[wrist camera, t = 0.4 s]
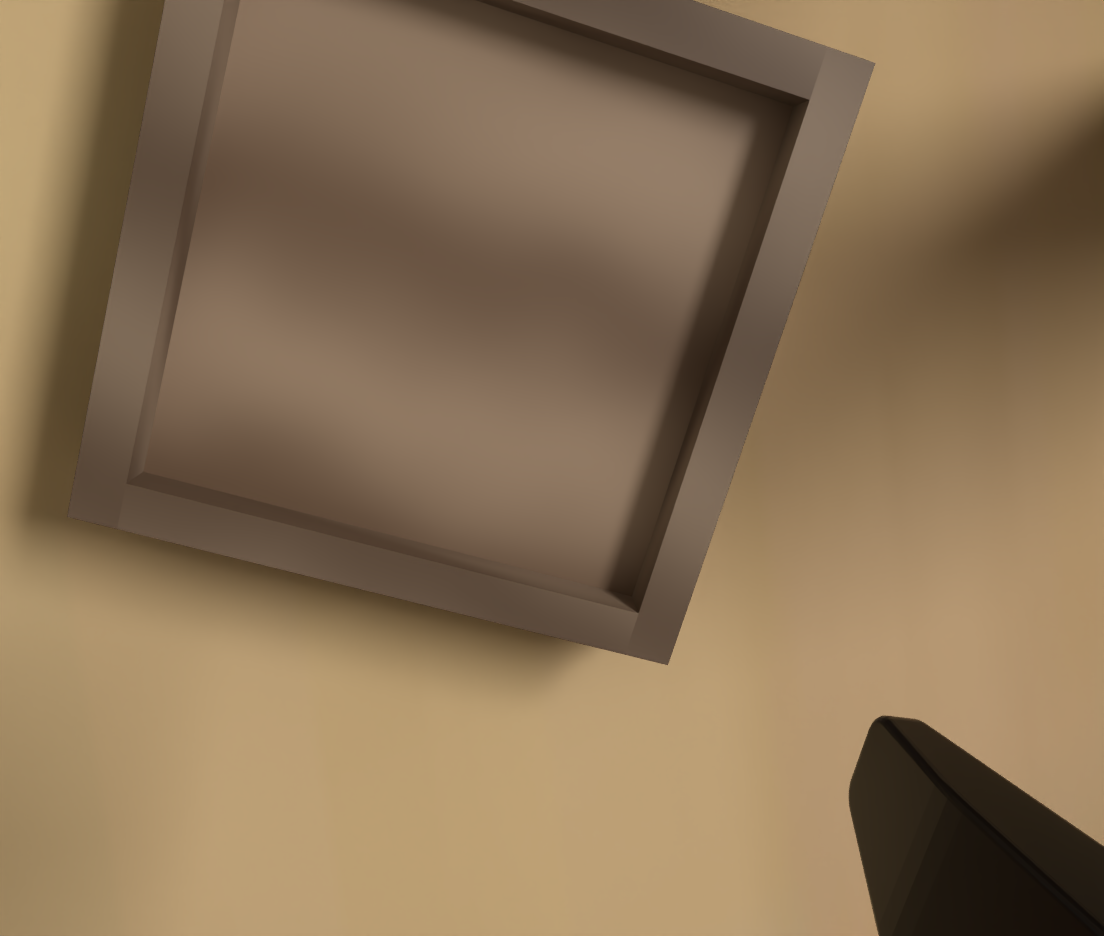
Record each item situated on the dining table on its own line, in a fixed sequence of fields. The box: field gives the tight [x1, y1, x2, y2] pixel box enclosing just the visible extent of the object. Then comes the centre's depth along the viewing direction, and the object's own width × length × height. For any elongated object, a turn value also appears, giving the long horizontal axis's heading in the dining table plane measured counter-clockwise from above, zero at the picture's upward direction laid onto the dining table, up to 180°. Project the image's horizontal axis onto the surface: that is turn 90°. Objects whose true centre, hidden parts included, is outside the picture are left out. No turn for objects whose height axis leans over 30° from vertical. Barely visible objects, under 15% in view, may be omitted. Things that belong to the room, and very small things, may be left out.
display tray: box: [67, 0, 875, 665], centre depth 21 cm, size 13×13×3 cm
